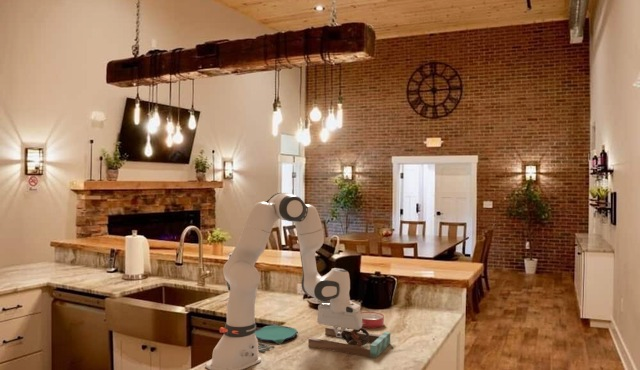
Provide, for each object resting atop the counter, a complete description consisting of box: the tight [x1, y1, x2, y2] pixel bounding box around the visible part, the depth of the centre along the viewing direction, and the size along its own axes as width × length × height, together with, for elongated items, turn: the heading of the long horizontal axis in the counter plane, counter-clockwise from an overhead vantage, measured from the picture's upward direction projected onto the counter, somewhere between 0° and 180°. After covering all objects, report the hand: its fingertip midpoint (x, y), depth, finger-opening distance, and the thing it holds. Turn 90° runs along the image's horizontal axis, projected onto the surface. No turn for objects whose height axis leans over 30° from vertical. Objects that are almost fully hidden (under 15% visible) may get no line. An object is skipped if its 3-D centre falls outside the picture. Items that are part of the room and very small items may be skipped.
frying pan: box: [346, 311, 385, 330], centre depth 235 cm, size 32×13×6 cm, turn 157°
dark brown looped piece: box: [341, 327, 369, 347], centre depth 215 cm, size 12×10×8 cm
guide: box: [307, 326, 391, 359], centre depth 215 cm, size 19×30×5 cm, turn 64°
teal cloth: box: [255, 324, 299, 353], centre depth 221 cm, size 20×30×2 cm, turn 151°
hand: (339, 336), depth 217 cm, fingers closed
